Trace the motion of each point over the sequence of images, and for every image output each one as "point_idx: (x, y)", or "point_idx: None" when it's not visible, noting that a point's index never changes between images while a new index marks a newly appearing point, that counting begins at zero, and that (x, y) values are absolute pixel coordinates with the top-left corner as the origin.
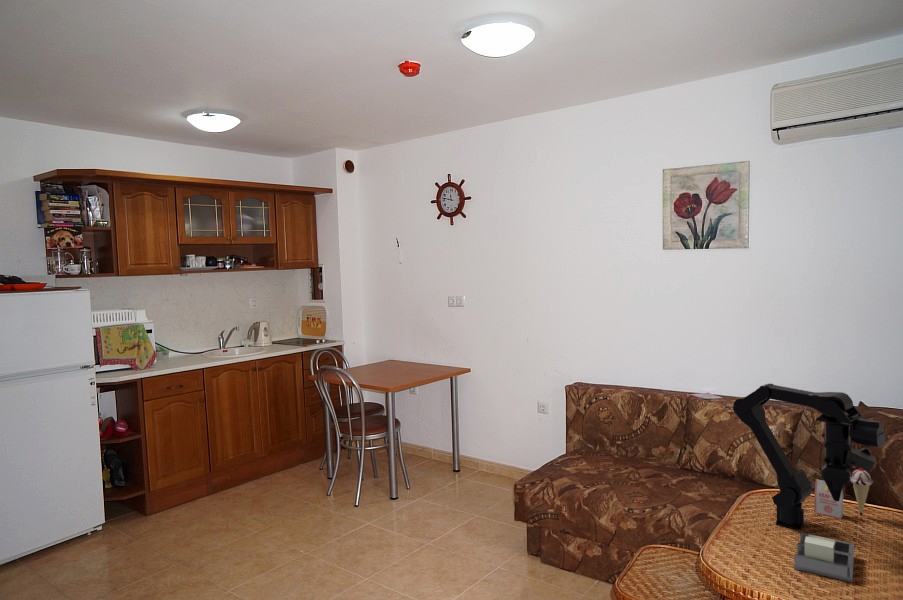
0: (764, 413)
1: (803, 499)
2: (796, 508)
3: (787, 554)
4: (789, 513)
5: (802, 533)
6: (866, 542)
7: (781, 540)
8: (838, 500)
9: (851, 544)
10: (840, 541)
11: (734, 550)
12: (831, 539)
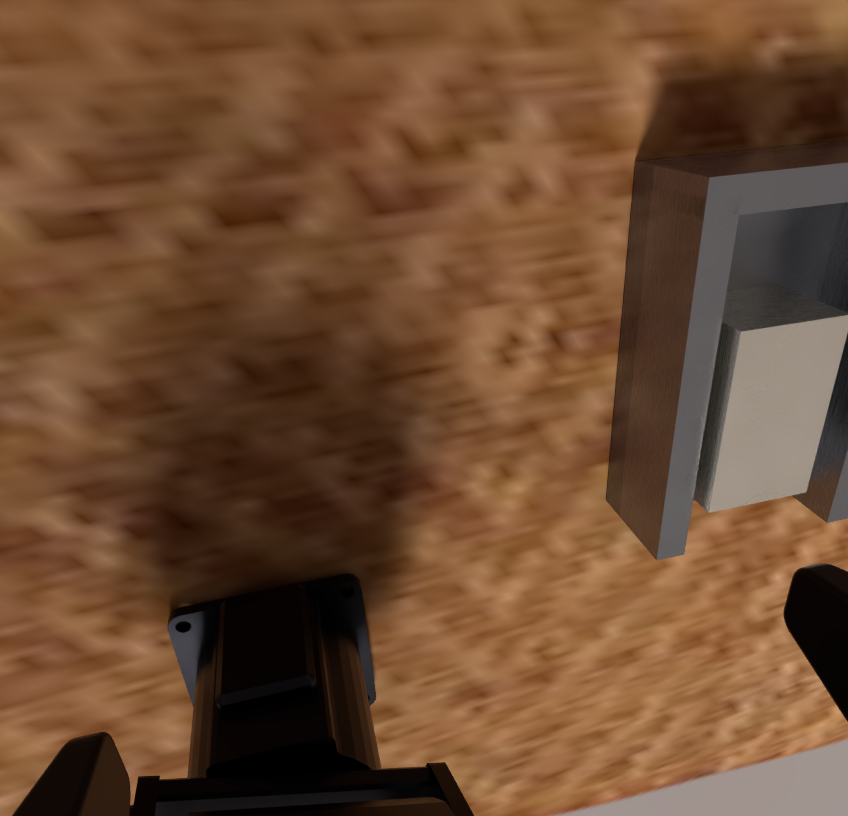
0: None
1: (357, 809)
2: (345, 741)
3: (764, 513)
4: (372, 726)
5: (668, 546)
6: (249, 93)
7: (589, 593)
8: (839, 577)
9: (737, 197)
10: (711, 292)
11: (803, 684)
12: (744, 359)
